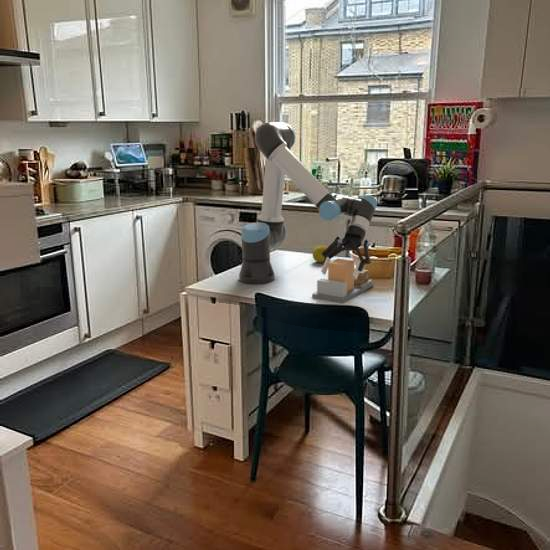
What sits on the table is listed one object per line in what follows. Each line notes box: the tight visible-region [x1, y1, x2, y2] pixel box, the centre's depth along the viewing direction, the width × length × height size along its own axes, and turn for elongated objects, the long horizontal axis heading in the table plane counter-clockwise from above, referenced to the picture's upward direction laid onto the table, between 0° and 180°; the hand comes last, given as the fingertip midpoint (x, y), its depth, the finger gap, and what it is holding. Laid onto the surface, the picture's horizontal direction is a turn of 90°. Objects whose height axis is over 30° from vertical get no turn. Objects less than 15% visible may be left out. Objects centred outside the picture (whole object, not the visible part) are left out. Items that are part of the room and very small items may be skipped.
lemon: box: [312, 245, 329, 264], centre depth 260 cm, size 11×8×8 cm
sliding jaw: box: [354, 267, 369, 285], centre depth 222 cm, size 5×10×5 cm, turn 55°
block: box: [327, 258, 355, 291], centre depth 213 cm, size 8×7×11 cm
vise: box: [311, 278, 374, 304], centre depth 215 cm, size 26×13×6 cm, turn 145°
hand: (338, 275), depth 210 cm, fingers open, 13 cm apart
